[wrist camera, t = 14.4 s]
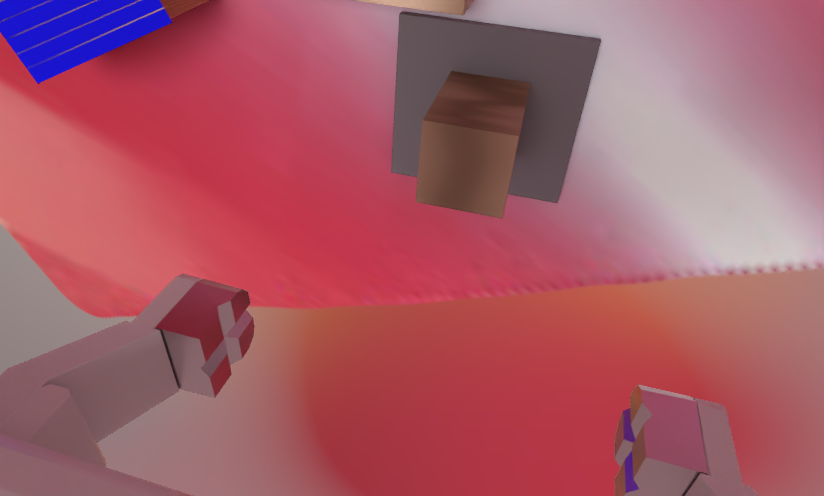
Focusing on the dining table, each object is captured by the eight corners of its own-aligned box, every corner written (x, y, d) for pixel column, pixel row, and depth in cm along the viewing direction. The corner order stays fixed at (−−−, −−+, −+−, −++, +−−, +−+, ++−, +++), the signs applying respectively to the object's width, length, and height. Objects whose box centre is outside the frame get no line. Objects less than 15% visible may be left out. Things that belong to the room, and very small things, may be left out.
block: (530, 82, 34) (518, 136, 28) (516, 155, 37) (502, 218, 31) (451, 70, 35) (422, 120, 29) (443, 142, 38) (415, 201, 32)
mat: (600, 38, 32) (600, 41, 32) (557, 198, 39) (557, 203, 39) (402, 11, 34) (399, 13, 34) (393, 168, 41) (391, 172, 40)
